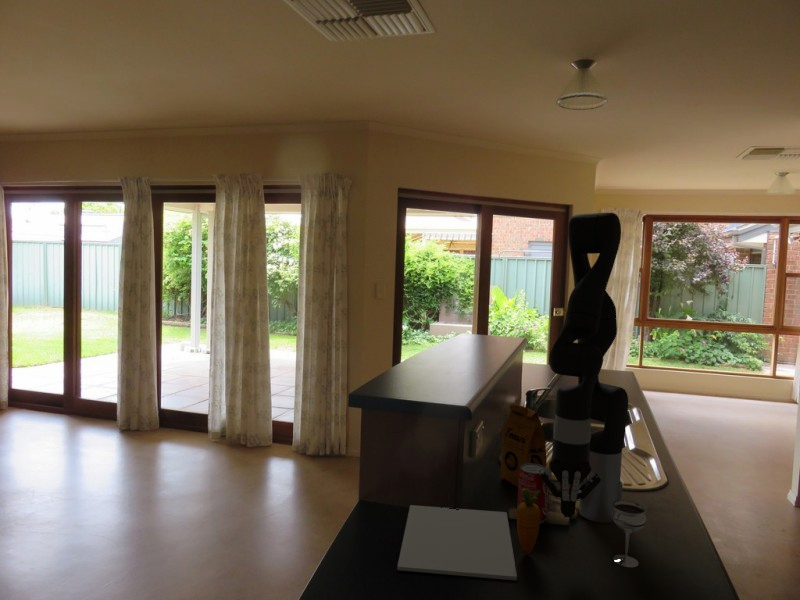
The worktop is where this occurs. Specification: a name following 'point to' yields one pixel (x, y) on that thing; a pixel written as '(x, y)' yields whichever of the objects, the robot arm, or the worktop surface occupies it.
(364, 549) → the worktop surface
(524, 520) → the carrot
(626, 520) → the wineglass
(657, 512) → the worktop surface
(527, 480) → the soda can
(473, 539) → the rubber mat
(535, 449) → the coffee package
